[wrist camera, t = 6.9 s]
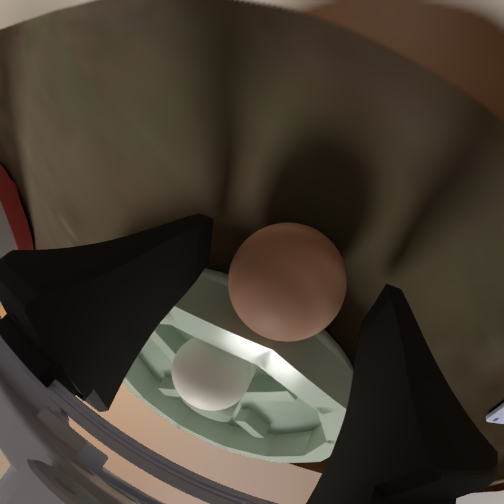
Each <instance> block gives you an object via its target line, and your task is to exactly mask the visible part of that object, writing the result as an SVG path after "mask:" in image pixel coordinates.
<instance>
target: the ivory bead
mask: <svg viewBox="0 0 504 504" xmlns="http://www.w3.org/2000/svg"><path fill="white" fill-rule="evenodd" d="M171 373H172V380H173V384H174V386H175V388H176V390H177V392H178V393H179V395H180V396H181V397H182V398H183V399H184V400H185V401H186V402H187V403H189V404H190V405H192V406H194V407H196V408H199V409H202V410H208V411H217V410H222V409H226V408H228V407H230V406H232V405H234V404H235V403H237V402H238V401H239V400H240V399H241V398H242V397H243V396H244V394H245V393H246V391H247V389H248V387H249V384H250V379H251V368H250V364H249V361H247V360H244V359H242V358H240V357H238V356H235V355H233V354H231V353H228V352H226V351H224V350H222V349H220V348H217V347H215V346H213V345H211V344H209V343H207V342H205V341H202V340H200V339H198V338H196V337H194V338H192V339H190V340H189V341H187V342H186V343H185V344H183V345H182V346H181V347H180V349H179V350H178V351H177V353H176V355H175V357H174V359H173V363H172V370H171Z"/></svg>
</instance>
